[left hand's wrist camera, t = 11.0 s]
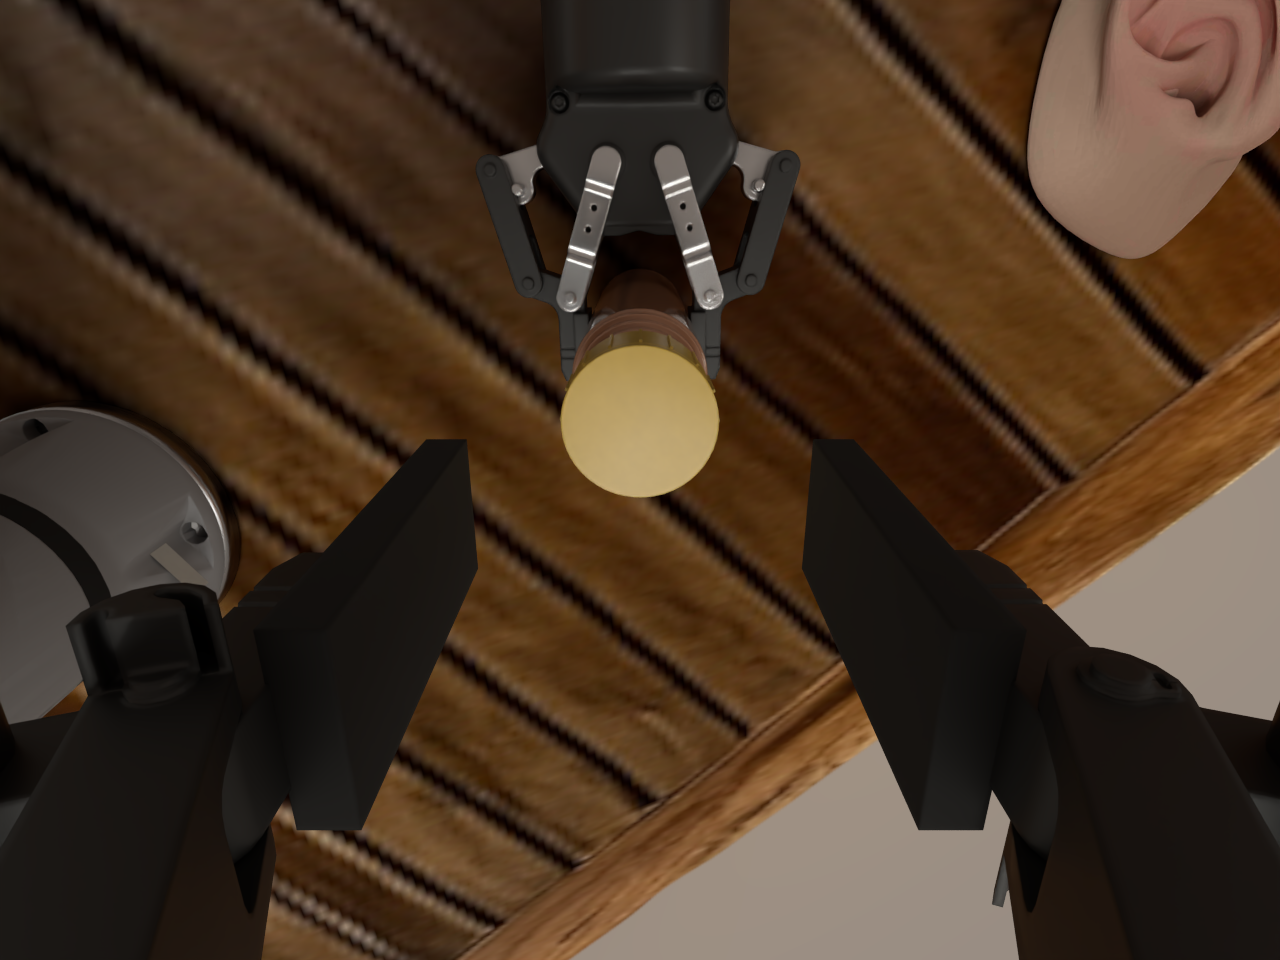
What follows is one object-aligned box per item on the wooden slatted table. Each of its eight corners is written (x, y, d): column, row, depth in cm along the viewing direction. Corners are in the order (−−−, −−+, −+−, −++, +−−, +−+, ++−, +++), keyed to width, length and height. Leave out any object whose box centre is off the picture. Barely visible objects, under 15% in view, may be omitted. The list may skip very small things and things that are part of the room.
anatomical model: (1241, 280, 35) (1016, 224, 34) (1183, 273, 38) (978, 222, 37) (1404, -44, 30) (1148, -118, 29) (1320, -16, 34) (1090, -82, 33)
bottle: (628, 250, 38) (616, 299, 19) (699, 301, 39) (758, 398, 19) (581, 323, 39) (523, 441, 20) (650, 370, 40) (660, 527, 21)
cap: (620, 299, 20) (617, 311, 18) (740, 383, 21) (752, 403, 19) (540, 419, 22) (529, 444, 19) (657, 494, 23) (659, 526, 20)
